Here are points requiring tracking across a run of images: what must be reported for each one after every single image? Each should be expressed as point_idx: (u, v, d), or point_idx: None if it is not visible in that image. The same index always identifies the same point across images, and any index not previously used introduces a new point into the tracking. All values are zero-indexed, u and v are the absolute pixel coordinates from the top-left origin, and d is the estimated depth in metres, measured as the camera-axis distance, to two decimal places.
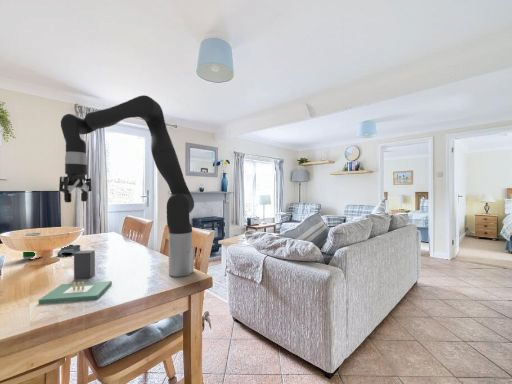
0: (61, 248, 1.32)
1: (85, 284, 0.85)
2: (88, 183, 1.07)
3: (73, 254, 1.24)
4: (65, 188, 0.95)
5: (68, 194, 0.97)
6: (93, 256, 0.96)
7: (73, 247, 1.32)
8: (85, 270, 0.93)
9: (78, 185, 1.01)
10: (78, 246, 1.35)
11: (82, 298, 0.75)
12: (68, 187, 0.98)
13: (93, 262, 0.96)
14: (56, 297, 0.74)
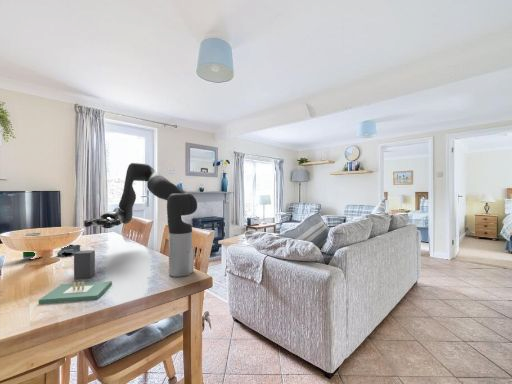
0: (61, 248, 1.32)
1: (85, 284, 0.85)
2: None
3: (73, 254, 1.24)
4: None
5: (87, 222, 1.08)
6: (93, 256, 0.96)
7: (73, 247, 1.32)
8: (85, 270, 0.93)
9: (102, 220, 1.12)
10: (78, 246, 1.35)
11: (82, 298, 0.75)
12: (93, 223, 1.11)
13: (93, 262, 0.96)
14: (56, 297, 0.74)
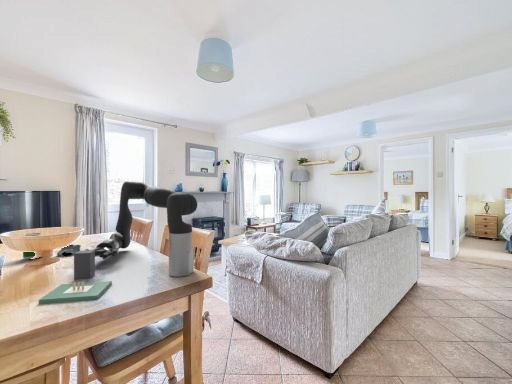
0: (61, 248, 1.32)
1: (85, 284, 0.85)
2: None
3: (73, 254, 1.24)
4: None
5: None
6: (93, 256, 0.96)
7: (73, 247, 1.32)
8: (85, 270, 0.93)
9: (99, 250, 1.08)
10: (78, 246, 1.35)
11: (82, 298, 0.75)
12: None
13: (93, 262, 0.96)
14: (56, 297, 0.74)
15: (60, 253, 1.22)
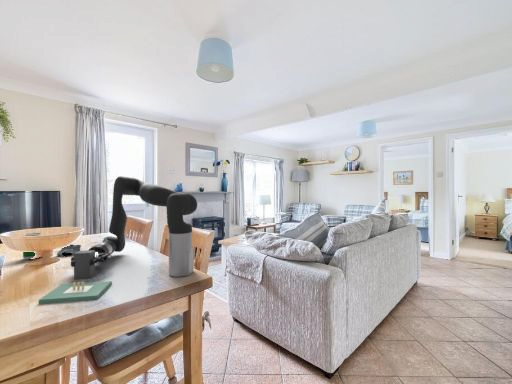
0: None
1: (85, 284, 0.85)
2: None
3: (72, 254, 1.24)
4: (72, 257, 0.97)
5: None
6: (93, 256, 0.96)
7: (73, 247, 1.32)
8: (85, 270, 0.93)
9: None
10: (78, 246, 1.35)
11: (82, 298, 0.75)
12: None
13: None
14: (56, 297, 0.74)
15: (60, 253, 1.22)
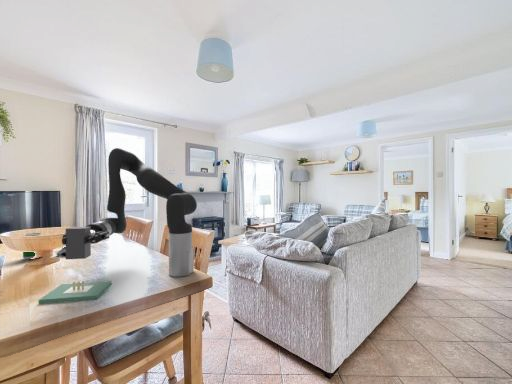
0: (62, 248, 1.32)
1: (85, 284, 0.85)
2: None
3: None
4: (64, 234, 0.82)
5: None
6: (88, 233, 0.82)
7: None
8: (79, 249, 0.79)
9: None
10: None
11: (82, 298, 0.75)
12: None
13: None
14: (56, 297, 0.74)
15: (59, 253, 1.22)
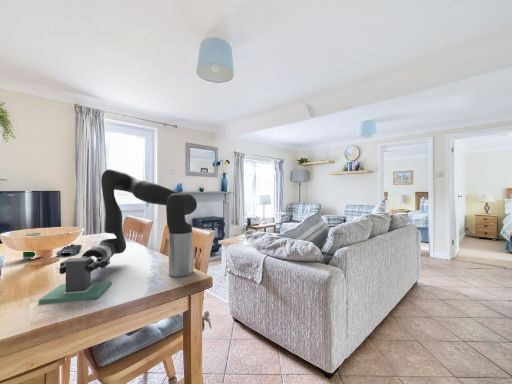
0: (63, 248, 1.33)
1: None
2: None
3: (71, 254, 1.24)
4: (62, 262, 0.82)
5: None
6: (89, 264, 0.82)
7: (73, 247, 1.32)
8: (79, 281, 0.79)
9: None
10: (79, 246, 1.35)
11: (82, 298, 0.75)
12: None
13: (89, 272, 0.82)
14: (56, 297, 0.74)
15: (59, 253, 1.22)
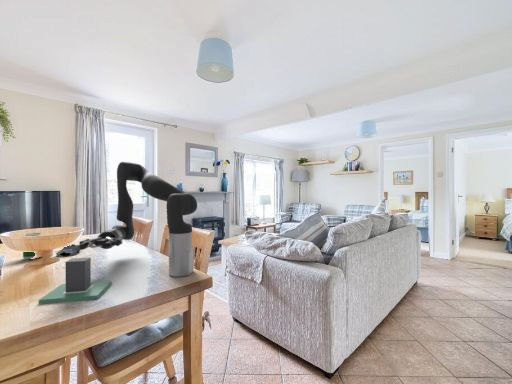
0: (63, 248, 1.33)
1: None
2: None
3: (71, 254, 1.23)
4: None
5: (83, 243, 0.93)
6: (88, 265, 0.82)
7: (74, 247, 1.32)
8: (79, 281, 0.79)
9: (101, 239, 0.98)
10: (79, 246, 1.35)
11: (82, 298, 0.75)
12: (89, 244, 0.96)
13: (88, 272, 0.82)
14: (56, 297, 0.74)
15: (59, 253, 1.22)
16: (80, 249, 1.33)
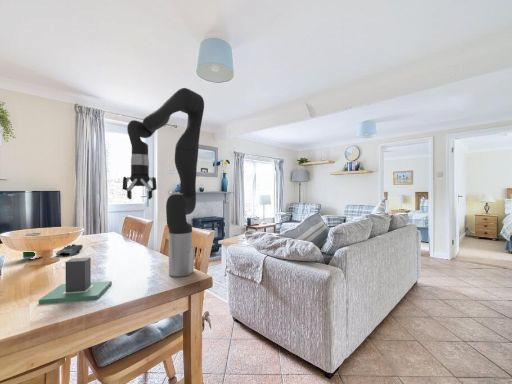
0: (64, 247, 1.33)
1: None
2: None
3: (70, 254, 1.23)
4: (123, 186, 1.10)
5: (128, 192, 1.11)
6: (88, 265, 0.82)
7: (74, 247, 1.32)
8: (79, 281, 0.79)
9: (138, 184, 1.12)
10: (80, 246, 1.35)
11: (82, 298, 0.75)
12: None
13: (88, 272, 0.82)
14: (56, 297, 0.74)
15: (58, 253, 1.22)
16: (80, 249, 1.33)
